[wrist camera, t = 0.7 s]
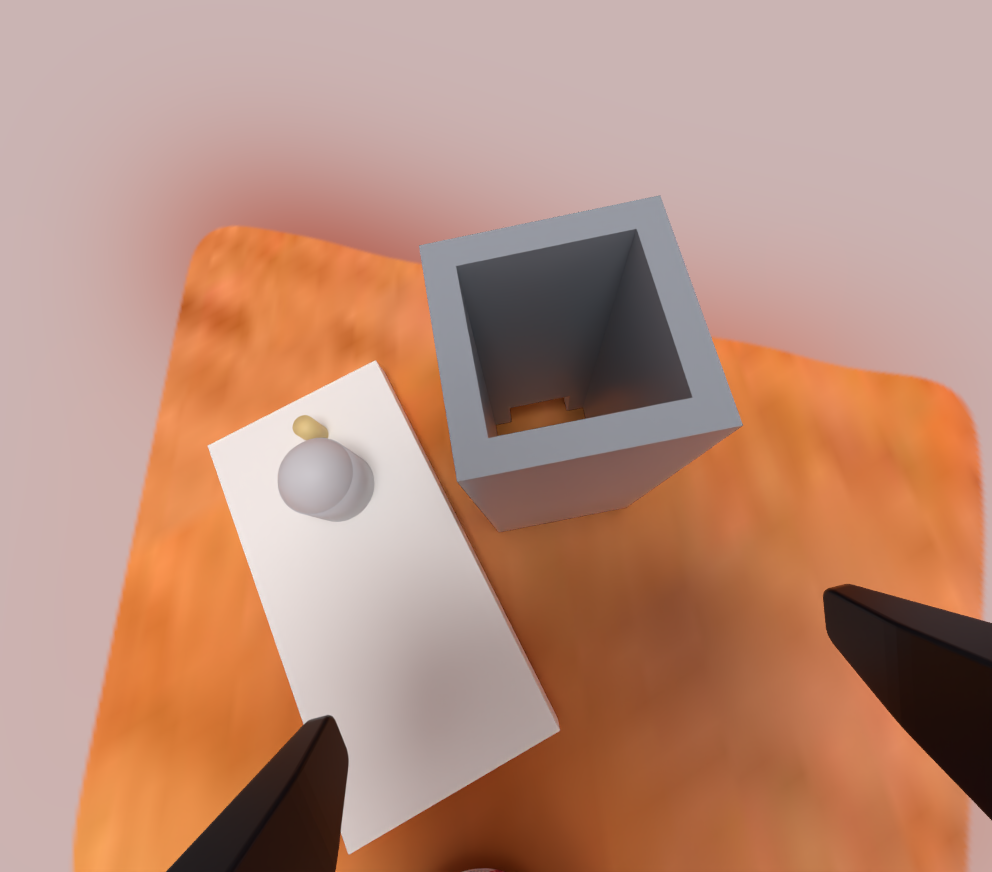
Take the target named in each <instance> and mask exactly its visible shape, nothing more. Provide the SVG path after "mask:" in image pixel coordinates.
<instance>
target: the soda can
mask: <svg viewBox="0 0 992 872" xmlns="http://www.w3.org/2000/svg"><path fill="white" fill-rule="evenodd" d="M462 872H505V871H502V870H496V869H489V868H480V869H470V870H466V871H462Z"/></svg>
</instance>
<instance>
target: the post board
mask: <svg viewBox="0 0 992 872" xmlns="http://www.w3.org/2000/svg"><path fill="white" fill-rule="evenodd" d="M208 448H209V451H210V454H211V457H212V460H213V463H214V465H215V468H216V471H217V474H218V477H219V480H220V483H221V486H222V489H223V492H224V495H225V497H226V500H227V503H228V506H229V509H230V512H231V515H232V518H233V521H234V524H235V526H236V529H237V532H238V535H239V538H240V541H241V544H242V547H243V550H244V553H245V555H246V558H247V561H248V564H249V567H250V570H251V573H252V576H253V579H254V582H255V585H256V587H257V590H258V593H259V596H260V599H261V602H262V605H263V608H264V611H265V614H266V616H267V619H268V622H269V625H270V628H271V631H272V634H273V637H274V640H275V643H276V645H277V648H278V651H279V654H280V657H281V660H282V663H283V666H284V669H285V672H286V675H287V677H288V680H289V683H290V686H291V689H292V692H293V695H294V698H295V701H296V704H297V706H298V709H299V712H300V715H301V718H302V721H303V724H305V723H306V722H307V721H308V720H310V719H313V718H317V717H321V716H325V715H331V716H333V717H334V719H335V720H336V723H337V725H338V728H339V730H340V733H341V735H342V738H343V740H344V743H345V745H346V748H347V751H348V757H349V766H348V775H347V783H346V792H345V800H344V808H343V817H342V825H341V834H342V837H343V840H344V843H345V846H346V849H347V852H348V855H349V854H351V853H353V852H354V851H356V850H358V849H359V848H361V847H363V846H364V845H366V844H368V843H370V842H371V841H373V840H375V839H376V838H378V837H380V836H381V835H383V834H385V833H387V832H388V831H390V830H392V829H393V828H395V827H397V826H399V825H400V824H402V823H404V822H405V821H407V820H409V819H410V818H412V817H414V816H416V815H417V814H419V813H421V812H422V811H424V810H426V809H427V808H429V807H431V806H433V805H434V804H436V803H438V802H439V801H441V800H443V799H445V798H446V797H448V796H450V795H451V794H453V793H455V792H456V791H458V790H460V789H462V788H463V787H465V786H467V785H468V784H470V783H472V782H473V781H475V780H477V779H479V778H480V777H482V776H484V775H485V774H487V773H489V772H491V771H492V770H494V769H496V768H497V767H499V766H501V765H502V764H504V763H506V762H508V761H509V760H511V759H513V758H514V757H516V756H518V755H519V754H521V753H523V752H525V751H526V750H528V749H530V748H531V747H533V746H535V745H537V744H538V743H540V742H542V741H543V740H545V739H547V738H548V737H550V736H552V735H554V734H555V733H557V732H559V731H560V728H559V722H558V718H557V716H556V714H555V712H554V710H553V708H552V706H551V704H550V702H549V700H548V698H547V696H546V694H545V692H544V690H543V688H542V686H541V684H540V682H539V680H538V678H537V676H536V674H535V672H534V670H533V668H532V666H531V664H530V662H529V660H528V658H527V656H526V654H525V652H524V650H523V648H522V646H521V644H520V642H519V640H518V638H517V636H516V634H515V632H514V630H513V628H512V626H511V624H510V622H509V620H508V618H507V616H506V614H505V612H504V610H503V608H502V606H501V604H500V602H499V600H498V598H497V596H496V594H495V592H494V590H493V588H492V586H491V584H490V582H489V580H488V578H487V576H486V574H485V572H484V570H483V568H482V566H481V564H480V562H479V560H478V558H477V556H476V554H475V552H474V550H473V548H472V546H471V544H470V542H469V540H468V538H467V536H466V534H465V532H464V530H463V528H462V526H461V524H460V522H459V520H458V518H457V516H456V514H455V512H454V510H453V508H452V506H451V504H450V502H449V500H448V498H447V496H446V494H445V492H444V490H443V488H442V486H441V484H440V482H439V480H438V478H437V476H436V474H435V472H434V470H433V468H432V466H431V464H430V462H429V460H428V458H427V456H426V454H425V452H424V450H423V448H422V446H421V444H420V442H419V440H418V438H417V436H416V434H415V432H414V430H413V428H412V426H411V424H410V422H409V420H408V418H407V416H406V414H405V412H404V410H403V408H402V406H401V404H400V402H399V400H398V398H397V396H396V394H395V392H394V390H393V388H392V386H391V384H390V382H389V380H388V378H387V376H386V374H385V372H384V371H383V369H382V368H381V367H380V365H379V364H378V363H377V361H376V360H375V361H373V362H371V363H369V364H367V365H365V366H363V367H361V368H359V369H357V370H356V371H354V372H352V373H350V374H348V375H346V376H344V377H342V378H340V379H338V380H336V381H334V382H332V383H330V384H328V385H326V386H324V387H322V388H320V389H318V390H316V391H314V392H312V393H310V394H308V395H306V396H304V397H302V398H300V399H298V400H297V401H295V402H293V403H291V404H289V405H287V406H285V407H283V408H281V409H279V410H277V411H275V412H273V413H271V414H269V415H267V416H265V417H263V418H261V419H259V420H257V421H255V422H253V423H251V424H249V425H247V426H245V427H243V428H241V429H240V430H238V431H236V432H234V433H232V434H230V435H228V436H226V437H224V438H222V439H220V440H218V441H216V442H214V443H212V444H210V445H208Z"/></svg>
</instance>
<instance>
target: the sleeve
mask: <svg viewBox="0 0 992 872" xmlns="http://www.w3.org/2000/svg"><path fill="white" fill-rule="evenodd" d="M419 248H420V254H421V261H422V267H423V273H424V279H425V286H426V292H427V298H428V304H429V310H430V317H431V323H432V329H433V335H434V341H435V348H436V354H437V360H438V366H439V372H440V379H441V385H442V391H443V397H444V403H445V410H446V416H447V422H448V428H449V434H450V441H451V447H452V453H453V459H454V465H455V472H456V478H457V482H458V483H459V485H460V486H461V487H462V488H463V489H464V491H465V492H466V493H467V494H468V495H469V497H470V498H471V499H472V500H473V502H474V503H475V504H476V505H477V506H478V508H479V509H480V510H481V511H482V512H483V514H484V515H485V516H486V517H487V518H488V520H489V521H490V522H491V523H492V524H493V526H494V527H495V528H496V529H497V530H498V532H503V531H508V530H514V529H519V528H524V527H529V526H534V525H539V524H545V523H550V522H555V521H560V520H565V519H570V518H575V517H581V516H586V515H591V514H596V513H601V512H606V511H611V510H617V509H622V508H626V507H628V506H629V505H631V504H632V503H633V502H635V501H636V500H638V499H639V498H641V497H642V496H643V495H645V494H646V493H648V492H649V491H651V490H652V489H653V488H655V487H656V486H658V485H659V484H660V483H662V482H663V481H665V480H666V479H668V478H669V477H670V476H672V475H673V474H675V473H676V472H678V471H679V470H680V469H682V468H683V467H685V466H686V465H687V464H689V463H690V462H692V461H693V460H695V459H696V458H697V457H699V456H700V455H702V454H703V453H705V452H706V451H707V450H709V449H710V448H712V447H713V446H714V445H716V444H717V443H719V442H720V441H722V440H723V439H724V438H726V437H727V436H729V435H730V434H732V433H733V432H734V431H736V430H737V429H739V428H740V427H741V426H743V424H742V422H741V419H740V416H739V413H738V410H737V408H736V405H735V402H734V399H733V397H732V394H731V391H730V388H729V385H728V383H727V380H726V377H725V374H724V372H723V369H722V366H721V363H720V360H719V358H718V355H717V352H716V349H715V346H714V344H713V341H712V338H711V335H710V333H709V330H708V327H707V324H706V322H705V319H704V316H703V313H702V311H701V308H700V305H699V302H698V299H697V296H696V294H695V291H694V288H693V286H692V283H691V280H690V277H689V274H688V272H687V269H686V266H685V263H684V261H683V258H682V255H681V252H680V250H679V246H678V244H677V241H676V238H675V235H674V233H673V230H672V227H671V224H670V222H669V219H668V216H667V213H666V210H665V208H664V205H663V202H662V199H661V197H660V196H655V197H650V198H645V199H641V200H636V201H631V202H627V203H621V204H617V205H612V206H607V207H602V208H597V209H593V210H588V211H583V212H578V213H573V214H568V215H564V216H559V217H554V218H549V219H544V220H540V221H535V222H530V223H525V224H521V225H515V226H511V227H506V228H501V229H496V230H491V231H487V232H482V233H477V234H472V235H468V236H462V237H458V238H454V239H448V240H443V241H439V242H434V243H429V244H424V245H420V246H419ZM562 397H564V401H565V405H566V409H567V411H568V410H573V409H578V408H583V410H584V414H585V418H586V419H582V420H577V421H572V422H567V423H562V424H557V425H552V426H547V427H542V428H537V429H532V430H527V431H521V432H516V433H511V434H506V435H501V436H498V434H497V429H496V425H497V424H502V423H507V422H511V414H510V408H512V407H517V406H522V405H527V404H532V403H537V402H542V401H547V400H552V399H557V398H562Z"/></svg>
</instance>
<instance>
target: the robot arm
mask: <svg viewBox="0 0 992 872" xmlns="http://www.w3.org/2000/svg"><path fill="white" fill-rule="evenodd" d="M823 602H824V613H825V623H826V630H827V633H828V636H829V638H830V639H831V641H832V643H833V644H834V645H835V647H836V648H837V649H838V650H839V651H840V653H841V654H842V655H843V656H844V658H845V659H846V660H847V661H848V662H849V664H850V665H851V666H852V667H853V669H854V670H855V671H856V672H857V673H858V675H859V676H860V677H861V678H862V680H863V681H864V682H865V683H866V684H867V686H868V687H869V688H870V689H871V691H872V692H873V693H874V694H875V695H876V697H877V698H878V699H879V700H880V702H881V703H882V704H883V705H884V706H885V708H886V709H887V710H888V711H889V712H890V714H891V715H892V716H893V717H894V718H895V719H896V721H897V722H898V723H899V724H900V725H901V726H902V727H903V729H904V730H905V731H906V732H907V733H908V734H909V735H910V736H911V737H912V738H913V739H914V740H915V741H916V742H917V743H918V744H919V745H920V747H921V748H922V749H923V750H924V751H925V752H926V753H927V754H928V755H929V756H930V757H931V758H932V759H933V760H934V761H935V762H936V763H937V764H938V765H939V766H940V767H941V768H942V769H943V770H944V771H945V772H946V773H947V774H948V775H949V777H950V778H951V779H952V780H953V781H954V782H955V783H956V784H957V785H958V786H959V787H960V788H961V789H962V790H963V791H964V792H965V793H966V794H967V795H968V796H969V797H970V798H971V799H972V800H973V801H974V802H975V803H976V804H977V806H978V807H979V808H980V809H981V810H982V811H983V812H984V813H985V814H986V815H987V816H988V817H989V818H990V819H991V820H992V623H989V622H986V621H982V620H978V619H975V618H971V617H968V616H964V615H960V614H957V613H953V612H949V611H946V610H942V609H939V608H935V607H931V606H928V605H924V604H921V603H917V602H913V601H910V600H906V599H902V598H899V597H895V596H892V595H888V594H884V593H881V592H877V591H873V590H870V589H866V588H863V587H859V586H855V585H852V584H844V585H840V586H836V587H832V588H828V589H826V590H825V591H824V594H823ZM348 766H349V757H348V751H347V748H346V745H345V743H344V740H343V738H342V735H341V733H340V730H339V728H338V725H337V723H336V720H335V719H334V717H333V716H331V715H325V716H321V717H317V718H313V719H310V720H308V721H307V722H306V723H305V724H304V725H303V726H302V727H301V728H300V729H299V730H298V731H297V732H296V733H295V734H294V735H293V737H292V738H291V739H290V740H289V741H288V742H287V743H286V744H285V745H284V746H283V747H282V748H281V749H280V750H279V752H278V753H277V754H276V755H275V756H274V757H273V758H272V759H271V760H270V761H269V762H268V763H267V764H266V765H265V766H264V768H263V769H262V770H261V771H260V772H259V773H258V774H257V775H256V776H255V777H254V778H253V779H252V780H251V781H250V783H249V784H248V785H247V786H246V787H245V788H244V789H243V790H242V791H241V792H240V793H239V794H238V795H237V796H236V797H235V799H234V800H233V801H232V802H231V803H230V804H229V805H228V806H227V807H226V808H225V809H224V810H223V811H222V812H221V814H220V815H219V816H218V817H217V818H216V819H215V820H214V821H213V822H212V823H211V824H210V825H209V826H208V827H207V828H206V830H205V831H204V832H203V833H202V834H201V835H200V836H199V837H198V838H197V839H196V840H195V841H194V842H193V843H192V845H191V846H190V847H189V848H188V849H187V850H186V851H185V852H184V853H183V854H182V855H181V856H180V857H179V858H178V859H177V861H176V862H175V863H174V864H173V865H172V866H171V867H170V868H169V869H168V870H167V871H166V872H335V870H336V864H337V857H338V850H339V842H340V833H341V825H342V817H343V808H344V800H345V792H346V783H347V775H348Z"/></svg>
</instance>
